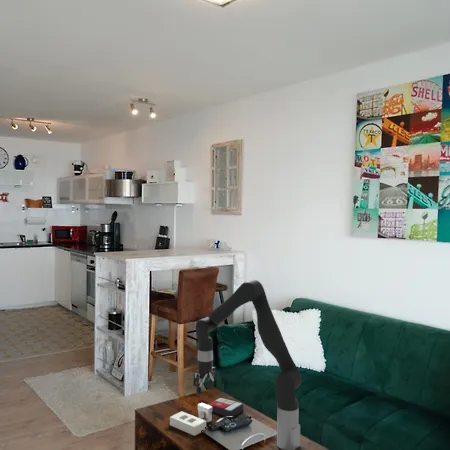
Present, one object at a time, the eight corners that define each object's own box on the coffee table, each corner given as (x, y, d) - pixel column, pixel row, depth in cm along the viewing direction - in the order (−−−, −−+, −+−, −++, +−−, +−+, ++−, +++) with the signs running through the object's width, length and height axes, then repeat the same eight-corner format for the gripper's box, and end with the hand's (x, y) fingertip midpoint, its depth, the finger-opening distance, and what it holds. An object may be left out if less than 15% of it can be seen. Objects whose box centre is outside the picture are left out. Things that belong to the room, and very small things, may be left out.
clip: (212, 420, 224) (212, 406, 223) (208, 422, 221) (208, 408, 221) (201, 416, 228) (201, 402, 228) (197, 418, 226) (197, 404, 225)
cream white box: (206, 429, 215) (206, 420, 215) (194, 435, 209) (194, 427, 208) (181, 419, 225) (181, 411, 225) (169, 425, 219) (169, 416, 219)
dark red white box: (220, 396, 244) (243, 402, 235) (220, 404, 244) (243, 410, 235) (207, 403, 235) (230, 410, 226) (207, 412, 235) (231, 418, 226)
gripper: (201, 364, 216) (200, 398, 216) (220, 356, 227) (220, 388, 227) (189, 360, 220) (189, 393, 221) (209, 353, 231) (208, 385, 232)
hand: (204, 391), depth 224 cm, fingers open, 8 cm apart
